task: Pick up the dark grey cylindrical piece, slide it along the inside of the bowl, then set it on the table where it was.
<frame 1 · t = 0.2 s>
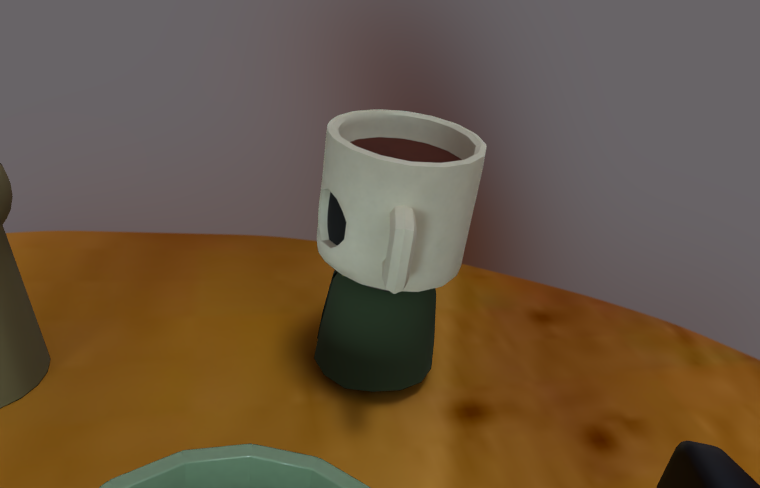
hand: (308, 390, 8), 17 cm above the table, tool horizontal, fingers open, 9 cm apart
character mug: (371, 366, 34), on the table
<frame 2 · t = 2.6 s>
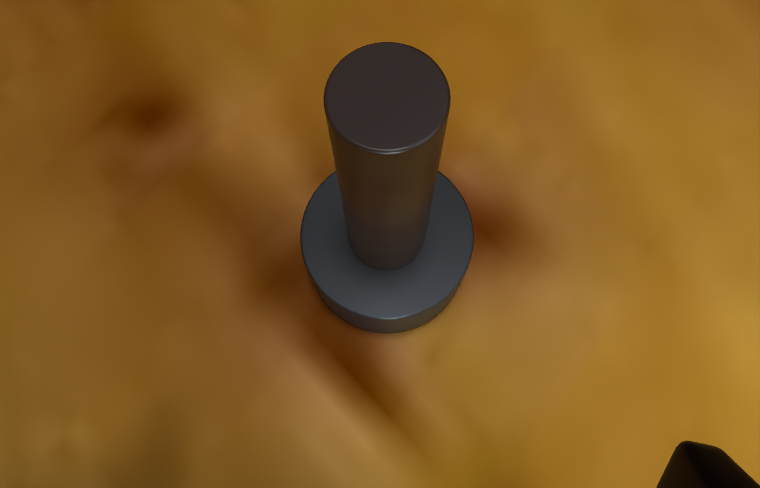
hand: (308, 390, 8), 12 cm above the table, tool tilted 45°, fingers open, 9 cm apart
dark grey cylindrical piece: (386, 256, 20), on the table
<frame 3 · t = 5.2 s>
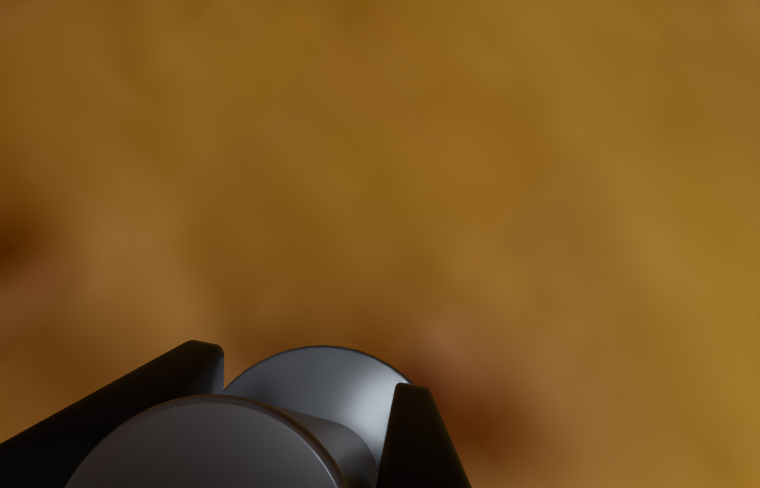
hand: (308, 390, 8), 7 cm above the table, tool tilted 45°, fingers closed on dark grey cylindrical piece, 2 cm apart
dark grey cylindrical piece: (329, 475, 14), on the table, touching gripper
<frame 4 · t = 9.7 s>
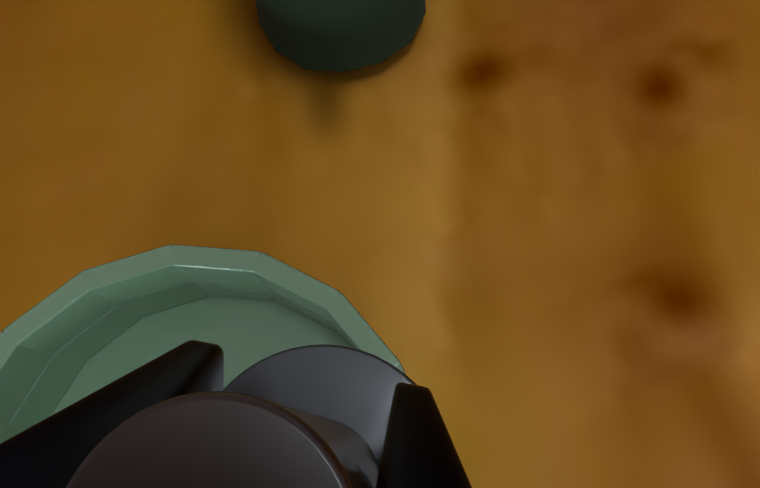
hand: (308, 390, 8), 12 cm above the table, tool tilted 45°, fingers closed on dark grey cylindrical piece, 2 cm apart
character mug: (343, 15, 24), on the table
bowl: (222, 478, 19), on the table
dark grey cylindrical piece: (330, 473, 14), point 6 cm above the table, touching gripper
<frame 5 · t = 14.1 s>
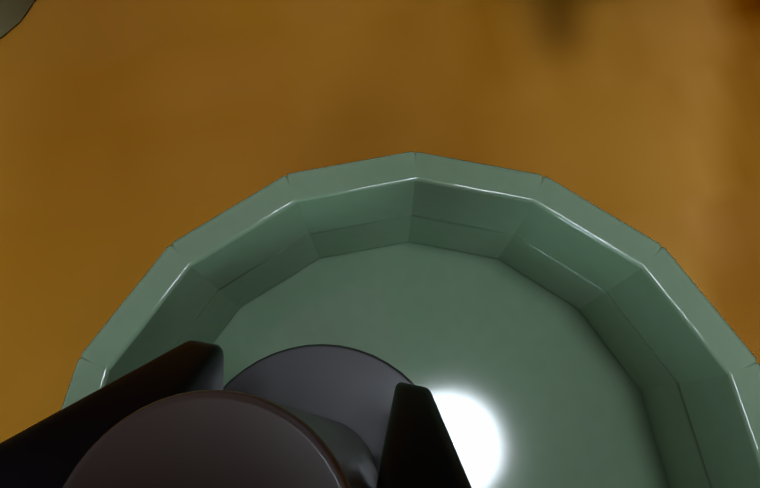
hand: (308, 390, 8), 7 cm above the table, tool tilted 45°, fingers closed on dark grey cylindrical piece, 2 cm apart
bowl: (408, 487, 14), on the table
dark grey cylindrical piece: (328, 473, 14), point 1 cm above the table, touching gripper
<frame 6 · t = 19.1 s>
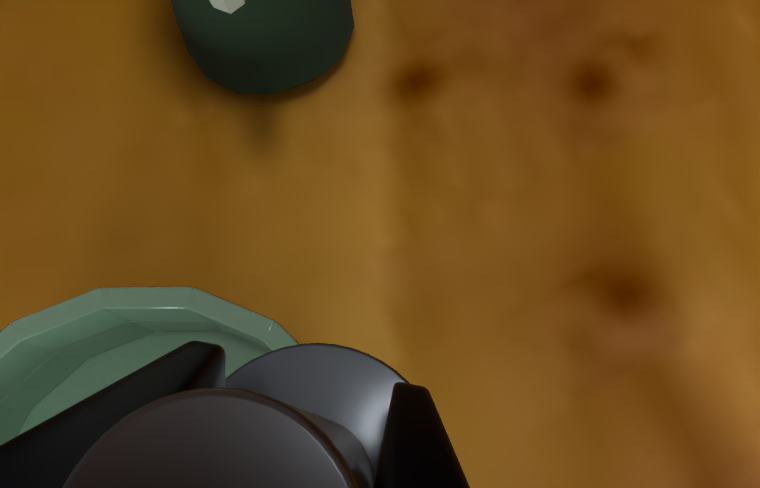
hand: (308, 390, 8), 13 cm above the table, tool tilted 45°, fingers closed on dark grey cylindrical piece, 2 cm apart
character mug: (273, 34, 24), on the table
dark grey cylindrical piece: (322, 473, 14), point 6 cm above the table, touching gripper
when the fingers open (6 cm above the table, at t = 23.4 s): dark grey cylindrical piece stays where it is, on the table.
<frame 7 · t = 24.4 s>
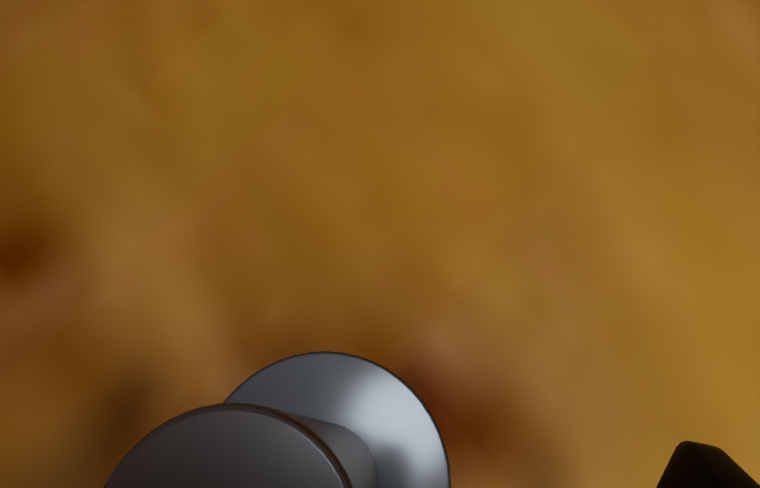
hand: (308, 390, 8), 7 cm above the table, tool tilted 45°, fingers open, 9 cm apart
dark grey cylindrical piece: (331, 474, 14), on the table
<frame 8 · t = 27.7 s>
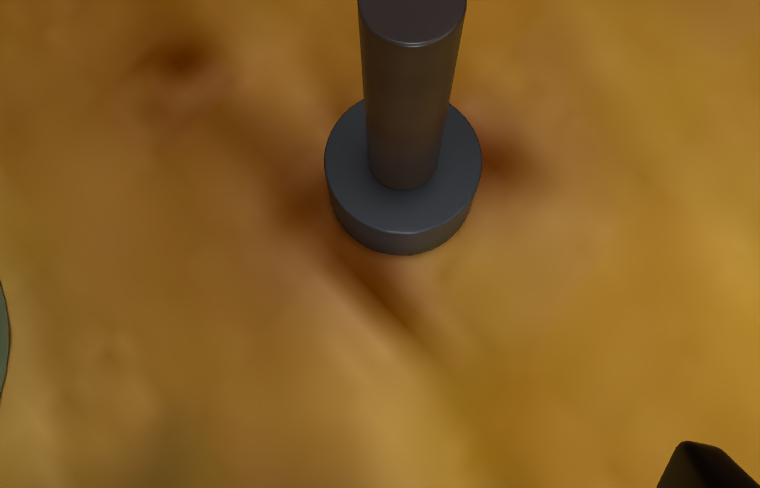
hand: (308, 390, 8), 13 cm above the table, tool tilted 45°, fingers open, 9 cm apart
dark grey cylindrical piece: (401, 187, 22), on the table
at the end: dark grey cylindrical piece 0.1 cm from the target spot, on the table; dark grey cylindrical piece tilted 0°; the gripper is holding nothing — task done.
